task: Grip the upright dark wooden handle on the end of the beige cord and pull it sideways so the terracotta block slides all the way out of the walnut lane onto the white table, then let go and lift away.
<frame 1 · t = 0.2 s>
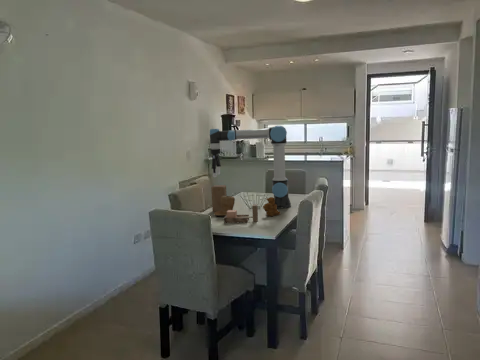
hand: (216, 176, 312), 28 cm above the table, tool pointing down, fingers open, 13 cm apart
wooden block: (220, 210, 317), on the table
corded block: (242, 213, 278), point 6 cm above the table, slide at 0.0 cm
walnut lane: (236, 221, 279), on the table
stuffed squirrel: (271, 215, 293), on the table
brown boot: (226, 215, 299), on the table
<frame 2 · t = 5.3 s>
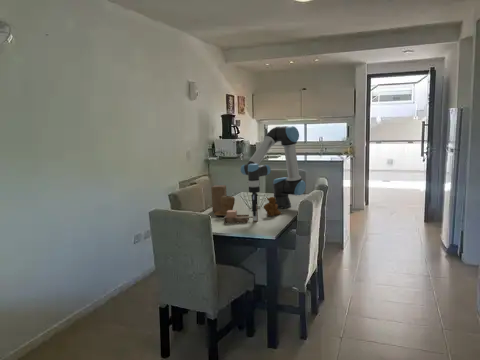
hand: (255, 219, 277), 1 cm above the table, tool pointing down, fingers closed on corded block, 5 cm apart
corded block: (242, 213, 278), point 6 cm above the table, slide at 0.0 cm, touching gripper
everything else where it was.
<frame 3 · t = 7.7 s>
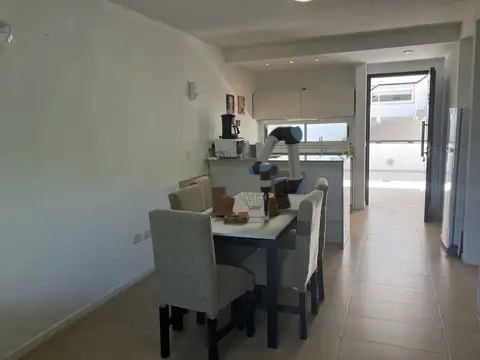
hand: (267, 219, 276), 1 cm above the table, tool pointing down, fingers closed on corded block, 5 cm apart
corded block: (253, 212, 277), point 6 cm above the table, slide at 8.1 cm, touching gripper
everything else where it was.
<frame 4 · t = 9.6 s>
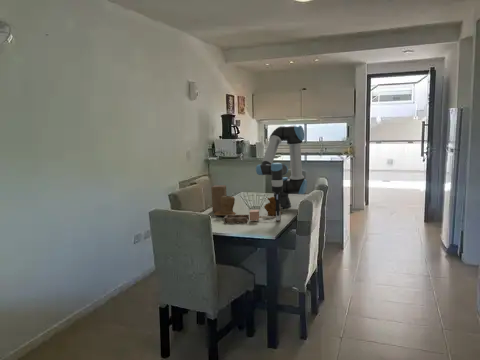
hand: (278, 219, 275), 1 cm above the table, tool pointing down, fingers closed on corded block, 5 cm apart
corded block: (265, 212, 276), point 6 cm above the table, slide at 15.9 cm, touching gripper
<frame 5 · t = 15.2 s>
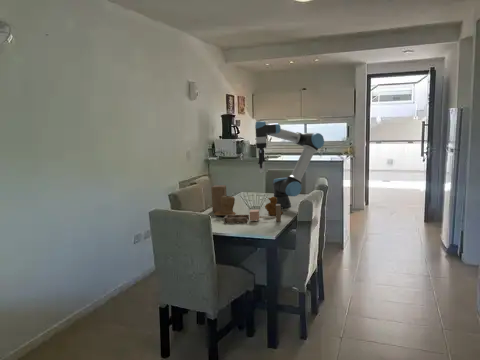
hand: (262, 171, 295), 32 cm above the table, tool pointing down, fingers open, 13 cm apart
corded block: (265, 212, 276), point 6 cm above the table, slide at 16.0 cm
at the end: corded block slide at 16.0 cm; the gripper is holding nothing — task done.
